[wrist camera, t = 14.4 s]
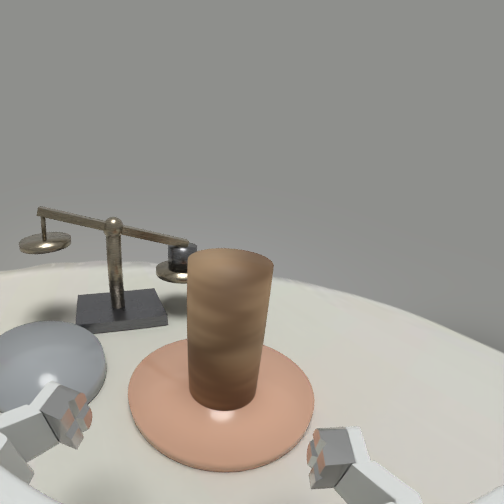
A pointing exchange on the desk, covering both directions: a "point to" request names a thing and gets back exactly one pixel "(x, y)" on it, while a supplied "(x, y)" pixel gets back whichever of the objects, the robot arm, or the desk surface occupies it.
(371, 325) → the desk surface
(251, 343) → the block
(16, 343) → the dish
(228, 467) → the dish
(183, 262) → the balance
